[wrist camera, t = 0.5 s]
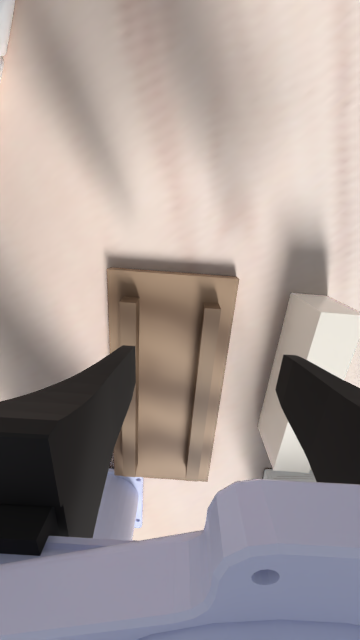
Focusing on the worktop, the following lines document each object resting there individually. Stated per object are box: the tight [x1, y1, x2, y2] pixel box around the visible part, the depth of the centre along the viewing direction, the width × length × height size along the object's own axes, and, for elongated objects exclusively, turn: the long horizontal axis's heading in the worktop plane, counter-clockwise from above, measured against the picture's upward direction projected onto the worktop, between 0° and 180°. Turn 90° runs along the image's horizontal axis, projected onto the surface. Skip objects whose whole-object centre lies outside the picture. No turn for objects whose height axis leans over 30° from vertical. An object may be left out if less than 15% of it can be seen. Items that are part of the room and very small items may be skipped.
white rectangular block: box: [257, 293, 360, 473], centre depth 20 cm, size 14×3×5 cm, turn 175°
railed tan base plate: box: [107, 267, 239, 482], centre depth 22 cm, size 22×10×2 cm, turn 176°
